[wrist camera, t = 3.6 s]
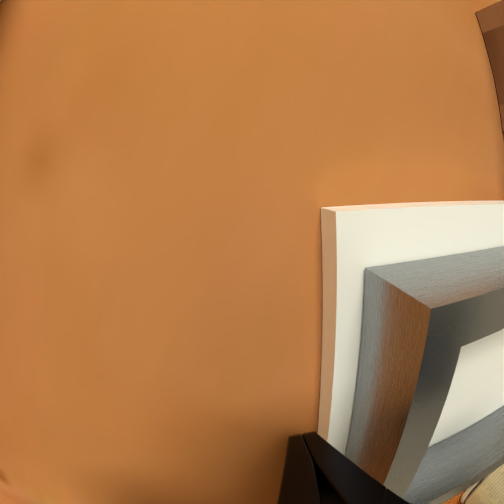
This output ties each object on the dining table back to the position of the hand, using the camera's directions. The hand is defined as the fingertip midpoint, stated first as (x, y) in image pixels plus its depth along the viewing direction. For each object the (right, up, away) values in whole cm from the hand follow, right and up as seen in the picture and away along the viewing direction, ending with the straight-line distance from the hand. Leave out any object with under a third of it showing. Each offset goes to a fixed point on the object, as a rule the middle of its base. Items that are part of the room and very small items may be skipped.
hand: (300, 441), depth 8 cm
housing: (+8, +1, +1) cm, 8 cm away
